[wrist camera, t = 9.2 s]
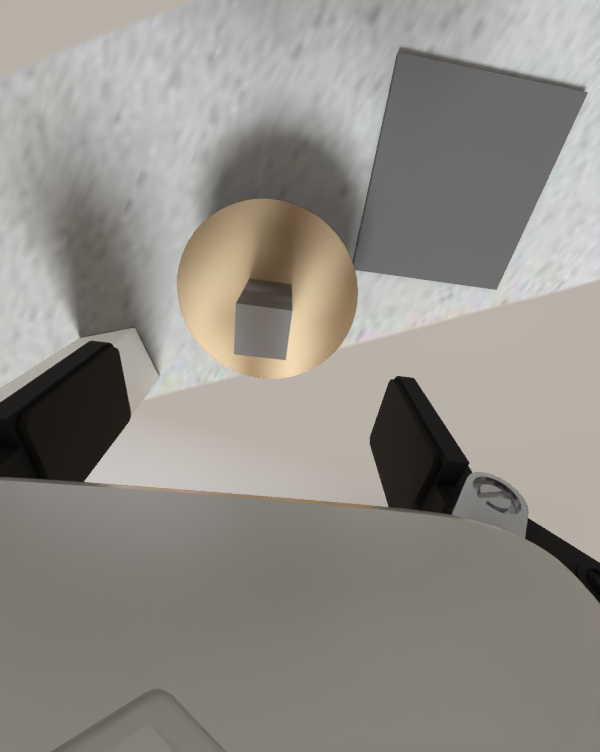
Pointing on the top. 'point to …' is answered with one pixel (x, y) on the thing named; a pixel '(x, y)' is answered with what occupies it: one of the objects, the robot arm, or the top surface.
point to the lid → (267, 288)
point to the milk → (133, 360)
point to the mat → (459, 170)
